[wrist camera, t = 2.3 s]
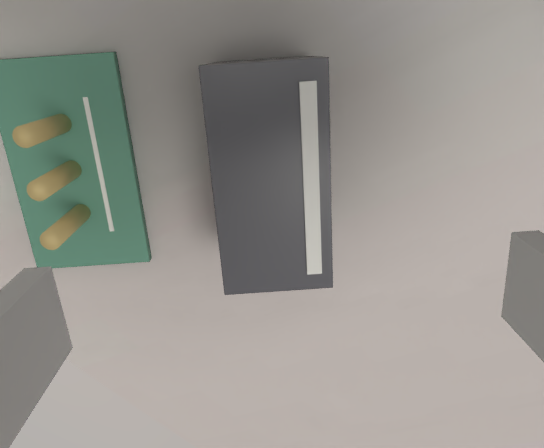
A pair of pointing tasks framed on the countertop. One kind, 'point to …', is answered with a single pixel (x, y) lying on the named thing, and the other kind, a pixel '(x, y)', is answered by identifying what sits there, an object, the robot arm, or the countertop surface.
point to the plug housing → (270, 171)
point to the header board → (73, 159)
